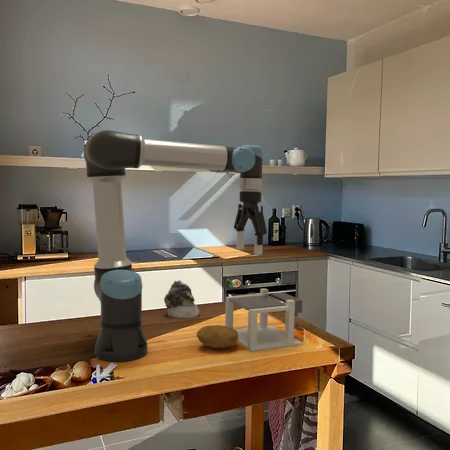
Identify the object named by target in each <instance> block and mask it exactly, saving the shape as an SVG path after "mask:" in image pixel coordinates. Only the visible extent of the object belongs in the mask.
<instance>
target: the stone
mask: <svg viewBox="0 0 450 450" xmlns="http://www.w3.org/2000/svg"><path fill="white" fill-rule="evenodd" d="M163 300H164V301H163V302H164V304H165V305H164V306H165V307H166V309H167V311H166V313H167V315H168V317H171V318H175V319H194V318H197V317H198V315H200V309H199V308H198V305H197V304H196V303H195V298H194V295H193V293H192V289H191V287H190V286H189V285H188V284H187V283H184V282H183V281H182V280H180V279H179V280H174V282H173V283H172V284H171V286H170V288H169V290H168V292H167V293H166V295H165V297H164V299H163ZM193 317H194V318H193Z"/></svg>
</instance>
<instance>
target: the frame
mask: <svg viewBox="0 0 450 450" xmlns="http://www.w3.org/2000/svg"><path fill="white" fill-rule="evenodd" d="M259 290H260V293H255V294H244V295H234V296H233V295H232V296H226V297H225V313H224V314H225V316H224V317H225V318H224V319H225V321H224V322H225V324H224V326H227V327H231V328H233V329H235V328H234V306H235V305H234V304H235V303H233V302H231V301H229V299H232V298H244V297H255V296H265V295H266V294H267V295H269V289H267V288H260V289H259ZM285 310H286V313H285V319H284V321H285V322H284V324H285V325H284V331H282V330H281V329H279V328H277V327H276V326H274V325H272V324H270V325H268V319H269V316H268V314H269V313H273V312H274V313H275V312H283V311H285ZM258 314H259V326H258ZM295 314H296V313H295V301H293V300H286V306H278V307H268V308H258V309H249V310H248V315H247V316H248V317H247V327H244V328H236V329H235V330H236V331H237V332H238V338H239V339H238V341H237V342H236V343H239V344H240V345H242V347H244V348H245V349H247V350H248V351H249V352H251V353H252V352H253V353H254V352H260V351H267V350H273V349H280V348H286V347H287V348H288V347H295V346H301V345H303V344H304V342H302V341H300V340H298V339H297V338H295V316H296V315H295Z"/></svg>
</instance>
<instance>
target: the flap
mask: <svg viewBox="0 0 450 450" xmlns="http://www.w3.org/2000/svg"><path fill="white" fill-rule="evenodd" d="M269 294H270V295H269ZM269 294H268V295H267V294H266V295H265V296H255V297H244V298H232V299H229V301H231V302H233V303H234V304H235V305H237V306H238V307H240V308H242V309H244V310H245V311H249V309H258V308H268V307H278V306H286V300H293V301H295V314H302V313H303V300H302V299H301V298H298V297H295V296H292V295H291V294H288V293H286V292H272V293H271V292H270V293H269ZM282 312H284V313H285V314H286V310H285V311H282Z"/></svg>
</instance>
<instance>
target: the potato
mask: <svg viewBox="0 0 450 450" xmlns="http://www.w3.org/2000/svg"><path fill="white" fill-rule="evenodd" d="M196 337H197V340H199V342H200V343H201V344H203V345H205V346H207V347H208V348H211V349H216V350H220V349H222V350H223V349H227V348H230V347H233V346H234V345H235V344H237V343H238V342H237V341H238V339H239V338H238V332H237V331H236V330H235V328H234V327H233V328H231V327H227V326H225V325H220V324H215V325H214V324H212V325H205V326H202V327H201V328H200V329H198V330H197V332H196Z"/></svg>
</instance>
